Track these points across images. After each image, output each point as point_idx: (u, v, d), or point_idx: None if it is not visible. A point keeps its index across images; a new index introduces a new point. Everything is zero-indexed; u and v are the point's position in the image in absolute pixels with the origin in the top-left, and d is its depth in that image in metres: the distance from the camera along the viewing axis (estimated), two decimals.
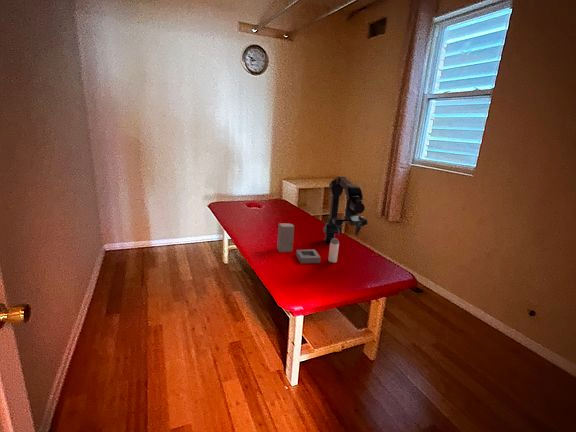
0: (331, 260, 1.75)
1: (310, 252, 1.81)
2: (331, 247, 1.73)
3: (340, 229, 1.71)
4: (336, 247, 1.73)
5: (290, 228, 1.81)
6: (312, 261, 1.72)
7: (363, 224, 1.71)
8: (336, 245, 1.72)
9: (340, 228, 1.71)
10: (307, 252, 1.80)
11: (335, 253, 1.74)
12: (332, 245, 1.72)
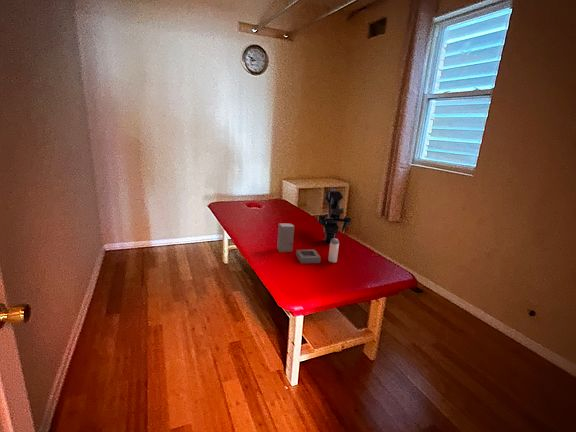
0: (331, 260, 1.75)
1: (310, 252, 1.81)
2: (331, 247, 1.73)
3: (325, 224, 1.82)
4: (336, 247, 1.73)
5: (290, 228, 1.81)
6: (312, 261, 1.72)
7: (346, 220, 1.81)
8: (336, 245, 1.72)
9: (324, 223, 1.82)
10: (307, 252, 1.80)
11: (335, 253, 1.74)
12: (332, 245, 1.72)
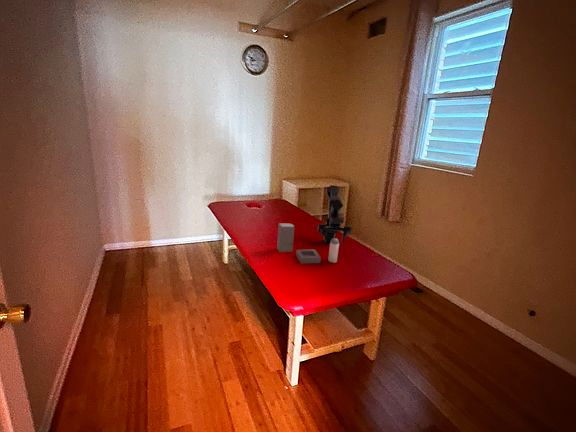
0: (331, 260, 1.75)
1: (310, 252, 1.81)
2: (331, 247, 1.73)
3: (324, 234, 1.78)
4: (336, 247, 1.73)
5: (290, 228, 1.81)
6: (312, 261, 1.72)
7: (347, 229, 1.77)
8: (336, 245, 1.72)
9: (324, 232, 1.78)
10: (307, 252, 1.80)
11: (335, 253, 1.74)
12: (332, 245, 1.72)
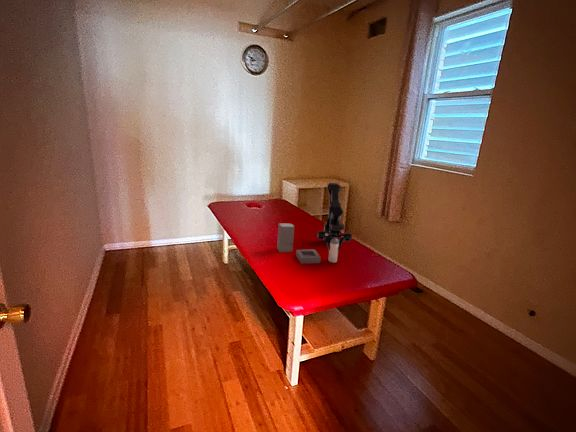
0: (331, 260, 1.75)
1: (310, 252, 1.81)
2: (331, 247, 1.73)
3: (328, 241, 1.75)
4: (336, 247, 1.73)
5: (290, 228, 1.81)
6: (312, 261, 1.72)
7: (347, 236, 1.74)
8: (336, 245, 1.72)
9: (328, 240, 1.75)
10: (307, 252, 1.80)
11: (335, 253, 1.74)
12: (332, 245, 1.72)
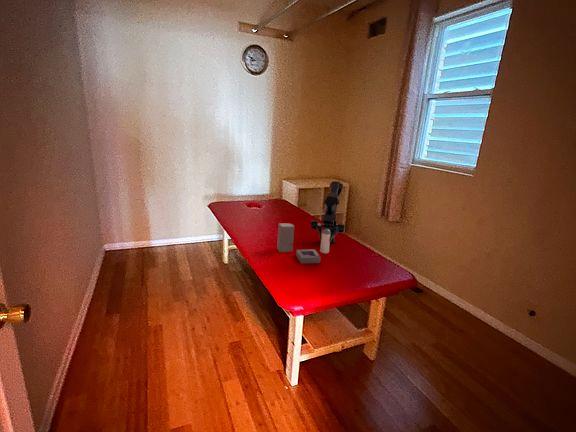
0: (322, 250, 1.73)
1: (310, 252, 1.81)
2: (322, 237, 1.71)
3: (320, 231, 1.73)
4: (327, 237, 1.70)
5: (290, 228, 1.81)
6: (312, 261, 1.72)
7: (339, 227, 1.71)
8: (327, 235, 1.70)
9: (320, 230, 1.73)
10: (307, 252, 1.80)
11: (326, 244, 1.71)
12: (323, 235, 1.70)
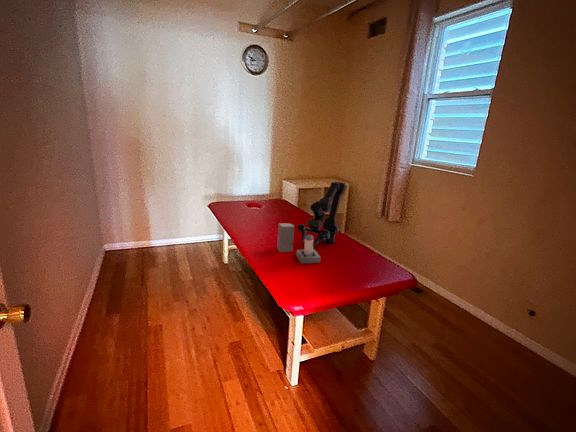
0: (304, 255, 1.75)
1: None
2: (305, 243, 1.74)
3: (302, 234, 1.76)
4: (309, 243, 1.72)
5: (290, 228, 1.81)
6: (312, 261, 1.72)
7: (322, 232, 1.71)
8: (309, 241, 1.72)
9: (302, 233, 1.76)
10: None
11: (308, 249, 1.73)
12: (305, 241, 1.73)
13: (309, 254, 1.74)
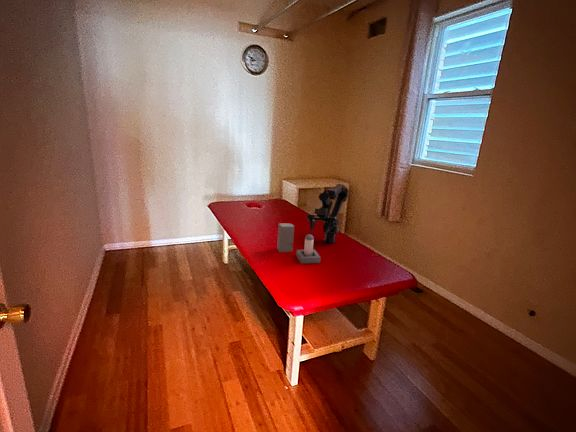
0: (305, 255, 1.75)
1: None
2: (305, 242, 1.74)
3: (311, 224, 1.84)
4: (309, 243, 1.72)
5: (290, 228, 1.81)
6: (312, 261, 1.72)
7: (330, 220, 1.77)
8: (309, 241, 1.72)
9: (311, 222, 1.84)
10: None
11: (308, 249, 1.73)
12: (305, 241, 1.73)
13: (309, 254, 1.74)
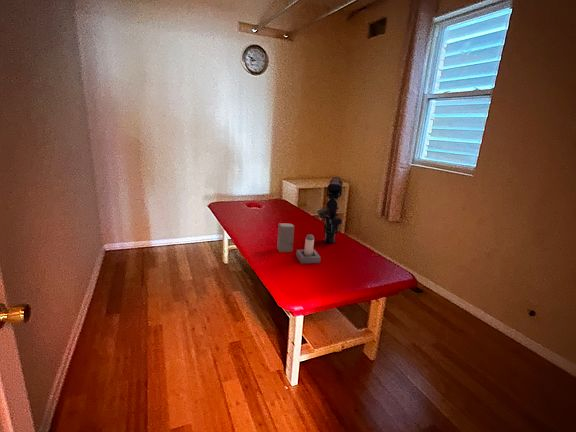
0: (305, 255, 1.75)
1: None
2: (305, 242, 1.74)
3: (325, 220, 1.90)
4: (309, 243, 1.72)
5: (290, 228, 1.81)
6: (312, 261, 1.72)
7: (330, 222, 1.78)
8: (309, 241, 1.72)
9: (325, 219, 1.90)
10: None
11: (308, 249, 1.73)
12: (306, 240, 1.73)
13: (309, 254, 1.74)
